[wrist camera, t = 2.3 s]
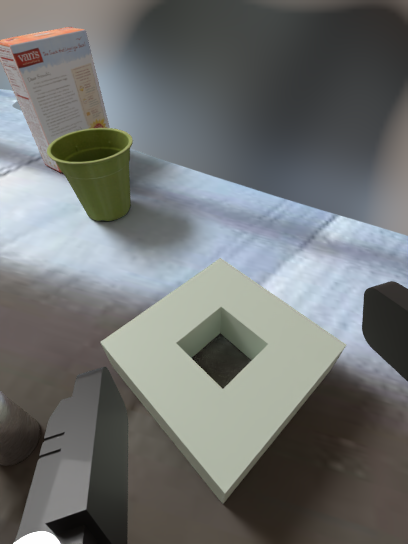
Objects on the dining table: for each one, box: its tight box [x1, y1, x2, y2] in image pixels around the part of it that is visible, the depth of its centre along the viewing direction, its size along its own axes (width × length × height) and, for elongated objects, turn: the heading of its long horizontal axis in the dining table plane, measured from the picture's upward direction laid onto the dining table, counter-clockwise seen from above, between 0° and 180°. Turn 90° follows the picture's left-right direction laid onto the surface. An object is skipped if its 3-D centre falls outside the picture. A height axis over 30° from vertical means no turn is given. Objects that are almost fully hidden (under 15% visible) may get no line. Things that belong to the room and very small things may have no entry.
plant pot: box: [47, 128, 132, 221], centre depth 48 cm, size 12×12×11 cm
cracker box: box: [0, 27, 109, 173], centre depth 58 cm, size 14×6×21 cm, turn 142°
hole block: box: [100, 258, 346, 504], centre depth 30 cm, size 16×16×5 cm
